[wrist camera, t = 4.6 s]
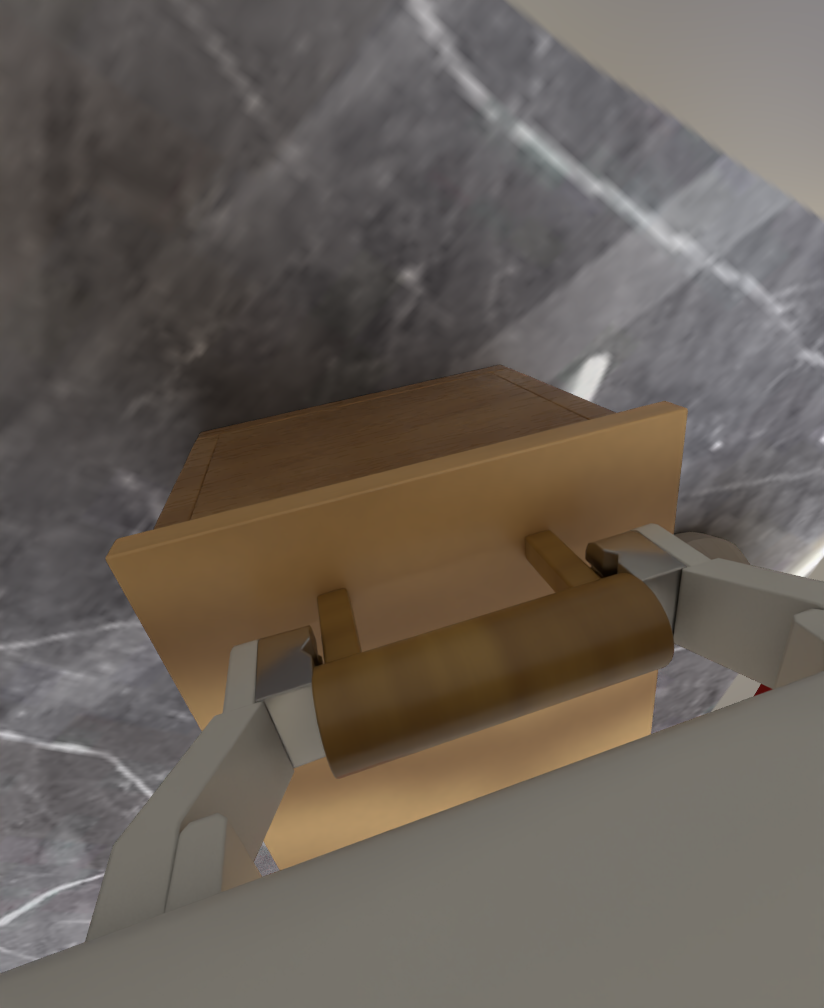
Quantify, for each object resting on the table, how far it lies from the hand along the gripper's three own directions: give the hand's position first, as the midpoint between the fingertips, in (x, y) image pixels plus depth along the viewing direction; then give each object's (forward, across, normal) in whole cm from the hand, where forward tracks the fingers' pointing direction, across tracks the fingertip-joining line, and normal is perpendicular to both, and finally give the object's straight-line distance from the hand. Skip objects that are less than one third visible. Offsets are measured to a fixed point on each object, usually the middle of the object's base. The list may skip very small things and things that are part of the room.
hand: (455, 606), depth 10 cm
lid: (+2, 0, +6) cm, 7 cm away
